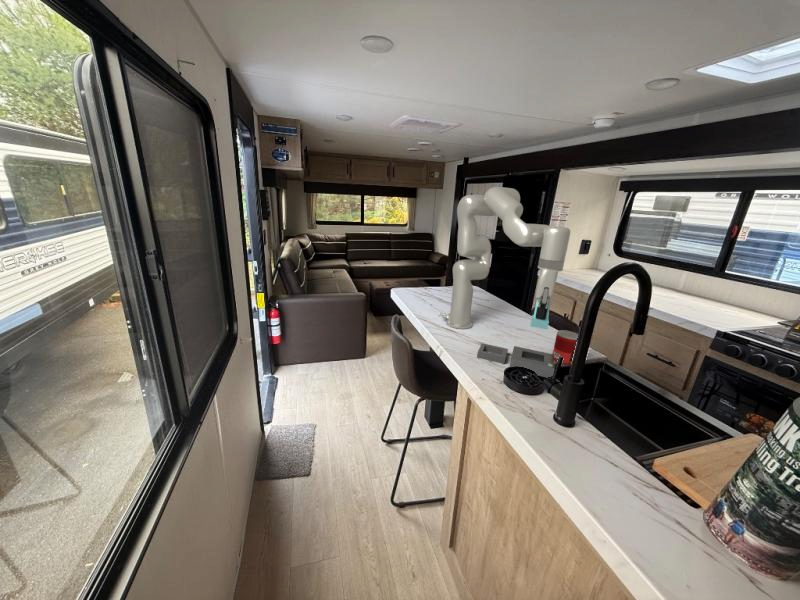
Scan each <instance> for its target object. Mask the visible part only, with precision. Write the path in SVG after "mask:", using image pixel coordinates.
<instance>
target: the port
mask: <svg viewBox="0 0 800 600" xmlns="http://www.w3.org/2000/svg"><path fill="white" fill-rule="evenodd" d="M509 361H510V362H509V367H514V366H519V367H524V368H527V369H530V370H532V371H534V372H535V373H536V374H537V375H536V376H539V377H543V378H545V379H546V378H547V379H549V378H548V377H551V376H554V374H555V368H556V367H555V366H556V365H555V360H554V354H553V353H548V352H545V351H540V350H535V349H529V348H527V347H526V348H525V347H522V346H521V347H520V346H516V345H513V349H512V353H511V356H510V360H509Z"/></svg>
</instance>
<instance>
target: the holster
mask: <svg viewBox="0 0 800 600" xmlns="http://www.w3.org/2000/svg"><path fill="white" fill-rule="evenodd" d="M508 351H509V348H505V347H502V346H497V345H491V344H488V343H483V342H482V343H481V344H480V346H479V348H478V350H477V353H476V358H479V359H481V360H487V361H491V362H495V363H498V364H501V365H502V364H503V365H505V363H506V359H507V356H508Z"/></svg>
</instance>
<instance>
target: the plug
mask: <svg viewBox="0 0 800 600" xmlns="http://www.w3.org/2000/svg"><path fill="white" fill-rule="evenodd" d="M551 301H552V300H549V301H548V306H547V308H548V310H547V315H546V319H545V320H543V319H537V318H535V317H536V311H537V307H538V305H539V298H537V299H536V301H535V308H534V312H533V314H532V315H531V321H530V327H532V328H537V329H538V328H539V329H543V330H548V327H549V323H550V317H549V315H550V310H551V303H552V302H551ZM546 302H547V301H546ZM540 305H541V304H540Z"/></svg>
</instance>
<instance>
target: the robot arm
mask: <svg viewBox="0 0 800 600" xmlns="http://www.w3.org/2000/svg"><path fill="white" fill-rule="evenodd" d="M523 211H524V206H523V205H522V203H521V196H520V192H519V191H518V190H517V189H515V188H512V187H511V188H510V187H503V186H492V187H490V188H489V189H487V190H486V192H485V194H484V195H483V194H466V195H465V196H464V195H463V197H461V199H460V200H459V202H458V204H457V209H456V215H457V216H456V217H457V224H458V229H457V246H456V247H457V254H458V255H459V256H460V257H466V258H474V259H461V260H460V259H459V260H457V261H456V262H455V263H454V264H453V266H452V279H453V280H452V281H453V283H452V293H451V302H450V303H451V304H450V313H446V312H441V317H442V319H446V321H445V323H446V324H445V325H447V326H449V327H450V328H454V329H459V330H460V329H461V330H467V329H470V328H473V322H471V321H470V319H471V311H472V303H473V297H474V296H473V295H474V288H473V284H472V281H479V280H484V279H486V278H487V277H488V275H489V273H490V268H491V267H490V266H491V256H492V255H491V252H492V244H491V241H490V239H489V238H488V237H487V236H483V235H478V223H477V221H476V219H475V217H474V216H478V217H479V216H480V217H481V216H482V217H494V216H497V217H498V218H499V219H500V220H501V221H502V223H501V224H502V230H503V232H504V234H505V235H506V236H507V237H508V238H509V239H510V240H511V241H512V242H513V243H514V244H516V245H518V246H519V247H526V248H528V247H533V248H535V247H538V248H539V247H541V249H540V254H539V259H538V265H537V268H538V269H539V270H540V271H539V275H538V280H537V286H536V291H535V296H534V297H535V299H536V300H537V299H538V300H539V305H538V307H537V311H536V317H535V318H537V319H543V320H545V319H546V315H547V310H548V308H547V306H548V301H552V299H553V296H554V295H553V294H554V292H555V288H556V282H557V278H558V274H559V272H562V271H563V270H564V265H565V260H566V255H567V251H568V246H569V241H570V235H571V230H570V228H568V227H566V226H557V225H556V226H551V225H548V224H539V223H538V224H537V223H526V222H525V221H523V220H522V219H521V217H522V215H523ZM546 301H547V302H546ZM540 304H541V305H540Z"/></svg>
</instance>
